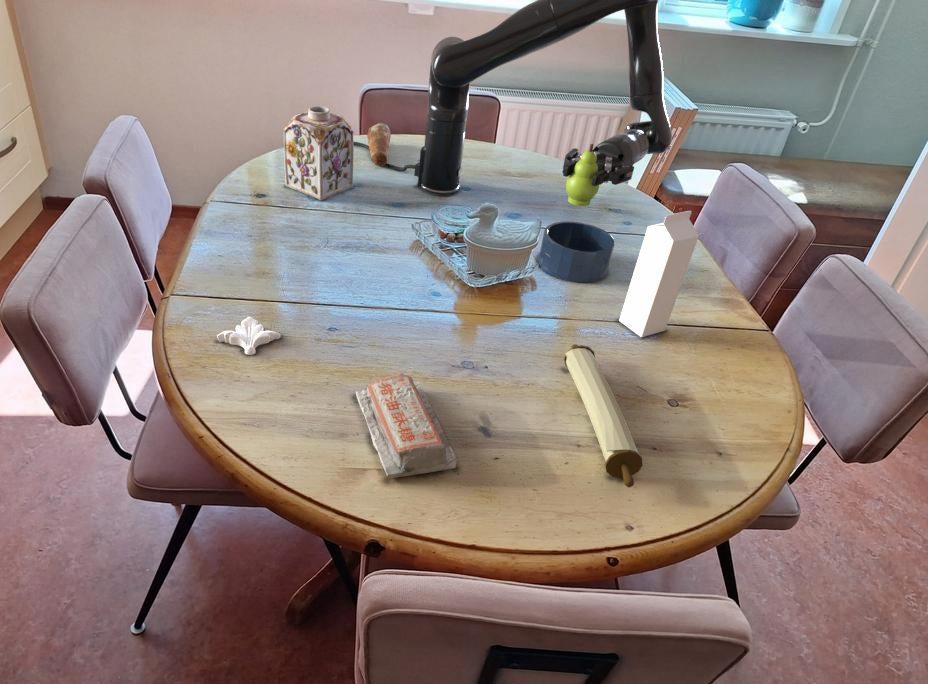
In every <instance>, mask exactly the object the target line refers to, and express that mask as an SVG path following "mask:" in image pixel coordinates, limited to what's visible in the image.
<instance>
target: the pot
mask: <svg viewBox="0 0 928 684" xmlns="http://www.w3.org/2000/svg"><path fill="white" fill-rule="evenodd" d="M615 244H616V243H615V238H614V237H613V236H612V235H611V234H610V233H609V232H607V231H606V230H604V229H603V228H600V227H599V226H596V225H592V224H589V223H585V222H579V221H571V220H570V221H568V220H567V221H566V220H565V221H563V220H562V221H557V222H554V223H553V222H552V223H551V224H548V225H547V226H546V227H545V228H544V231H543V235H542V240H541V245H540V248H539V249H540V250H539V255H538V264H539V266H540V267H541V269H542V270H543V271H545V272H546V273H547V274H549V275H551V276H552V277H555V278H557V279H560V280H564V281H568V282H572V283H593V282H597V281H599V280H601V279H603V278H605V276H606V275H607V272H608V270H609V267H610V263H611V259H612V256H613V252H614V249H615Z"/></svg>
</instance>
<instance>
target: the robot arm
mask: <svg viewBox="0 0 928 684" xmlns="http://www.w3.org/2000/svg"><path fill="white" fill-rule="evenodd" d="M658 5H659V0H535V1H532V2H531V3H528V4H527V5H525V6H523V7H521V8H520V9H518V10H517V11H515V12H514V13H513V14H511V15H510V16H509V17H507V18H506V19H505V20H503V21H502V22H500V23H499V24H498V25H497V26H495V27H493V28H492V29H490V30H489V31H487V32H485V33H482V34H480V35H477V36H474V37H472V38H469V39H467V40H464V39H463V38H460V37H457V36H447V37H444V38H443V39H441V40H440V41H438V42H437V44H435V46H434V48H433V50H432V53H431V58H430V67H429V81H428V91H427V110H426V124H425V135H424V145H423V146H422V147H420V153H419V162H417V163H415V164H405V165H404V166H397V165H394V164H391V163H388V162H387V163H386V164H385V165H384V166H383V167H385V168H387V169H391V170H395V171H399V172H405V171H407V170H409V169H411V170H414V172H413V173H414V174H413V176H414V177H416V178H417V187H418V188H421V189H422V190H423V191H424V192H426V193H429V194H432V195H440V196H449V195H454V194H457V192H459V189H460V178H461V174H462V172H463V167H462V162H463V154H464V146H465V137H466V129H467V120H468V114H469V95H470V85H471V83H472V82H474V81H475V80H477V79H478V78H481V77H482V76H484V75H486V74H487V73H490V72H491V71H493V70H495V69H496V68H499V67H500V66H501V67H502V66H503V65H506V64H508V63H510V62H514V61H517V60H519V59H521V58H524V57H527V56H529V55H532V54H534V53H536V52H539V51H541V50H544V49H547V48H548V47H551V46H554V45H555V44H558V43H560V42H562V41H565V40H566V39H568V38H570V37H572V36H574V35H576V34H578V33H579V32H582V31H583V30H585V29H587V28H588V27H591V26H592V25H593V24H595V23H597V22H598V21H600V20H602V19H604V18H606V17H609V16H611V15H613V14H615V13H618V12H621V11H623V10H624V14H625V15H624V17H625V24H626V32H627V33H626V34H627V47H628V48H627V50H628V51H627V52H628V95H629V98H628V99H629V107H630V109H631V110H632V111H635V112H641V113H646V114H647V115H648V117H649V119H650V120H647V121H644V120H643V121H635V122H631V123H628V124H627V125H625V127H624V128H623V131H622V132H621V133H619V134H616V135H612V136H611V137H609V138H607V139H605V140H603V141H602V142H600V143H597V145H596V146H594V147H593V149H592V151H593V152H594V153H595V154H596V156H597V160H596V163H597V165H598V173H596V174H595V175H594V177H593V181H592V186H597V185H599V186H600V185H602V184H607V183H609V182H611V185H614V186H617V185H620V184H623V183H625V182H629V181H630V180H632V178H633V173H634V170H635V166H634V165H635V164H637V163H639V162H640V161H641V160H642V159H643V158H645V156H646V155H657V154H663V153H665V152H666V151H668V149H669V148H670V146H671V144H672V139H673V131H672V127H671V122H670V120H669V117H668V114H667V110H666V105H665V100H664V71H663V69H664V68H663V60H662V53H661V47H660V42H659V34H658V7H659V6H658ZM353 142H354V146H357V147H360V148H364V149H366V150H367V151H369V152H370V149H369V144H366V143H363V142H358V141H353ZM582 154H583V153H580V152H579V149H578V148H576V147H574V148H572V149H570V150H569V152H567V153H566V154H565V155H564V161H563V165H562V172H561V173H562V174H563V175H562V176H563V177H565V178H569V176H570V175H571V174H572V173H573V172H574V168H575V165H576V163H577V162H578V161H579V160H581V156H582Z"/></svg>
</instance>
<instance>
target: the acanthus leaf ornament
mask: <svg viewBox="0 0 928 684" xmlns="http://www.w3.org/2000/svg"><path fill="white" fill-rule="evenodd" d="M258 323H259V321H258V320H256V319H255V318H254V317H252V316H247V317H246V318H244V319H243V320H242V321H241V323H240V324H237V325H236V326H235V330H224V331H222V332H220V333H218V334H217V336H216V338H217V340H218V342H219V343H226V344H229V345H233V346H239V347H241V348H243V349H244V354H246V355H248V356H253V355H255V354H256V352H257V351H256V348H257V347H258V346H260V345H265V344H269V343H270V342H272V341H274V340H279V339H281V333H279V332H277V331H273V330H268V329H267V330H264V326H263V324H261V323H259V324H258Z"/></svg>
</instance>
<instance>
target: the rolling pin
mask: <svg viewBox="0 0 928 684" xmlns="http://www.w3.org/2000/svg"><path fill="white" fill-rule="evenodd" d="M564 354H565V355H564V357H563V361H564V366H565V367H567V370H568V371H569V374H570V376H571V378H572V380H573V382H574V384H575V386H576V388H577V391H578V394H579V397H580V398H581V401H582V403H583V406H584V408H585V410H586V412H587V415H588V417H589V420H590V422H591V425H592V428H593V430H594V433H595V436H596V438H597V441H598V445H599V447H600V450H601V452H602V455H603V458H604V461H605V462H604V463H605V464H604V465H605V471H606V473H607V474H608V475H610V476H611V477H612V478H617V479H623V484H624V486H625V487H627V488H632V487H633V486H634V484H635V481H634V477H633V476H634V475H636V474H637V473H639V471H640V470H641V469H642V467H643V466H644V464H643V457H642V455H641V454H640V453H639V451H638V449H637V446H636V444H635V441H634V439H633V436H632V433H631V431H630V429H629V426H628V424H627V422H626V419H625V417H624V414H623V412H622V409H621V408H620V406H619V404H618V401H617V399H616V397H615V395H614V392H613V391H612V389H611V386H610V385H609V383H608V381H607V378H606V376H605V374H604V372H603V370H602V368H601V367H600V365H599V363H598V361H597V360H596V359H597V358H596V354H595V351H594V350H593V349H592V348H591V347H589V346H588V345H582V344H581V345H578V344H572V345H571V348H569V350H567V351H566V352H564Z"/></svg>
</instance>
